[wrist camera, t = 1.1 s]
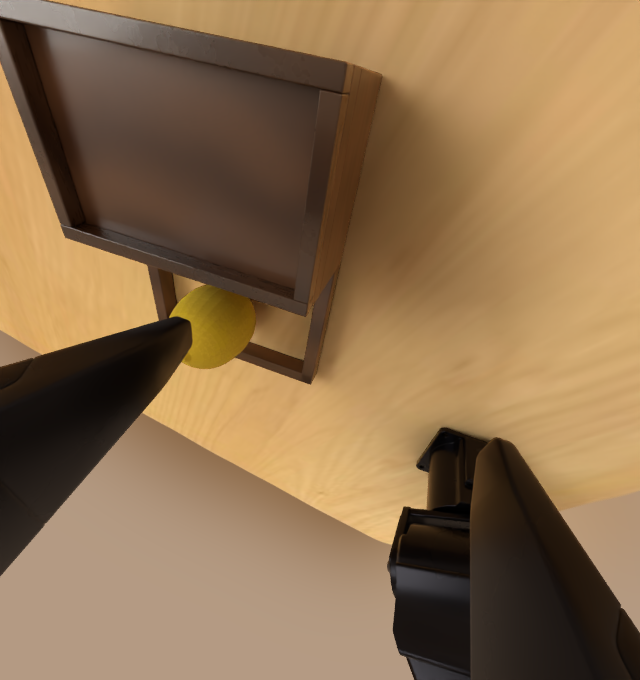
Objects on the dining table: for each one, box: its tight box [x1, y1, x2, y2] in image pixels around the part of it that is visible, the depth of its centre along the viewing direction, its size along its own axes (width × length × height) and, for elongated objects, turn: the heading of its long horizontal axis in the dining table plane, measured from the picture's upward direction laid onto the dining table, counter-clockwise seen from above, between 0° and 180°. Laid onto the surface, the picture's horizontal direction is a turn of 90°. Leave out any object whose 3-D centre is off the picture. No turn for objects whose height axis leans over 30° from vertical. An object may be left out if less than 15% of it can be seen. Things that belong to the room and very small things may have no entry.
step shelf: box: [0, 0, 382, 385], centre depth 20 cm, size 21×15×7 cm
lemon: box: [169, 285, 256, 369], centre depth 23 cm, size 6×6×8 cm
